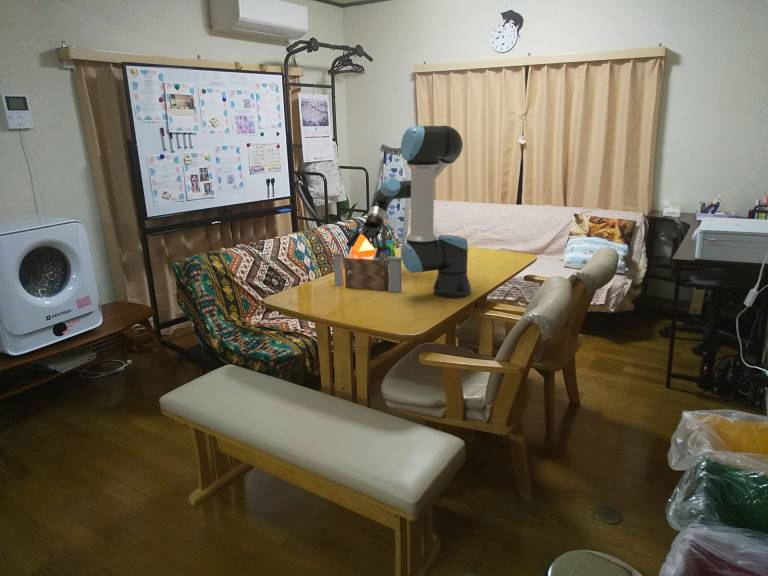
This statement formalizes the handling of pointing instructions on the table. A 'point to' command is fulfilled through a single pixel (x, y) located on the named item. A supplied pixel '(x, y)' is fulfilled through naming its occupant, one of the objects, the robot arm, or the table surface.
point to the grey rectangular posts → (393, 272)
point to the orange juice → (363, 248)
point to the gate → (366, 273)
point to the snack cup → (387, 250)
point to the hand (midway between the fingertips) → (360, 262)
